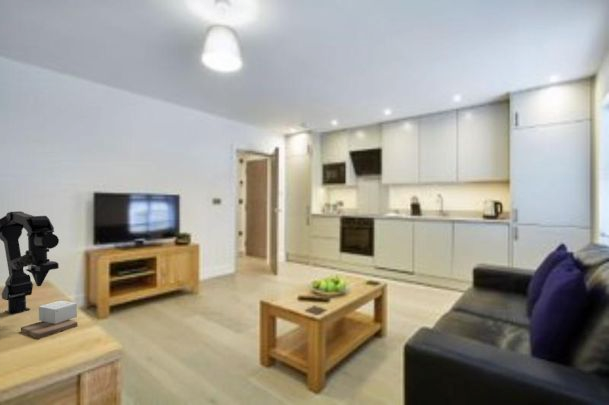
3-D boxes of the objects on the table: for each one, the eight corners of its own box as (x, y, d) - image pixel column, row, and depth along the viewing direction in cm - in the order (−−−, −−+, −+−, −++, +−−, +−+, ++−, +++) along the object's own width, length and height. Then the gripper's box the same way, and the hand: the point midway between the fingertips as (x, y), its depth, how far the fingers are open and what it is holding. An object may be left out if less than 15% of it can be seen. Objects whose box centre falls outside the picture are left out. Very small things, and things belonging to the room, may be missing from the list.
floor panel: (20, 331, 117) (20, 327, 117) (58, 320, 128) (58, 316, 128) (39, 338, 111) (39, 334, 111) (77, 326, 121) (77, 322, 121)
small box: (38, 320, 124) (54, 324, 119) (37, 306, 124) (54, 309, 119) (61, 313, 131) (77, 317, 127) (61, 299, 131) (77, 303, 126)
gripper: (1, 249, 127) (2, 288, 127) (23, 251, 118) (25, 294, 118) (35, 245, 137) (36, 281, 137) (58, 247, 128) (60, 286, 128)
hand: (39, 286), depth 130 cm, fingers closed
